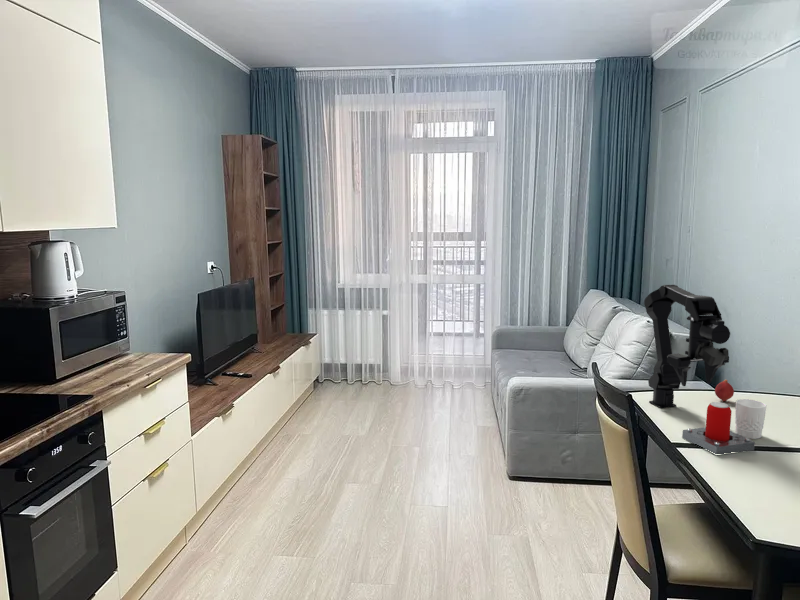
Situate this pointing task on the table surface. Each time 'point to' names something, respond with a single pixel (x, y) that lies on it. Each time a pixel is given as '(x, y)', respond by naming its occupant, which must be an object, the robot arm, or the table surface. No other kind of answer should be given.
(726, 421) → the beverage can
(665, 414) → the table surface
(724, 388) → the onion
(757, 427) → the white cup
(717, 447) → the housing
